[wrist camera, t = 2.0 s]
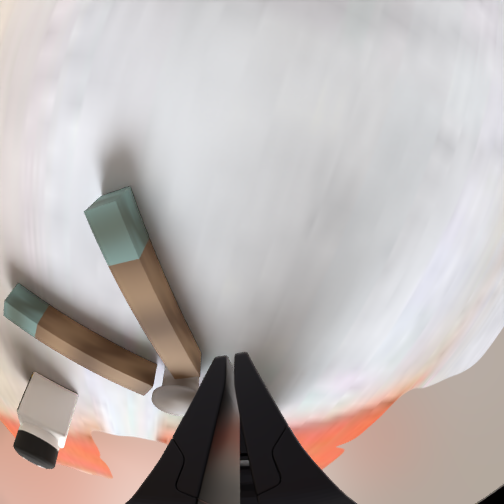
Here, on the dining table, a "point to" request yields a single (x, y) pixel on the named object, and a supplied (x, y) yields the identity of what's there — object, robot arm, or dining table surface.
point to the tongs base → (97, 352)
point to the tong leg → (143, 280)
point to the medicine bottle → (44, 420)
